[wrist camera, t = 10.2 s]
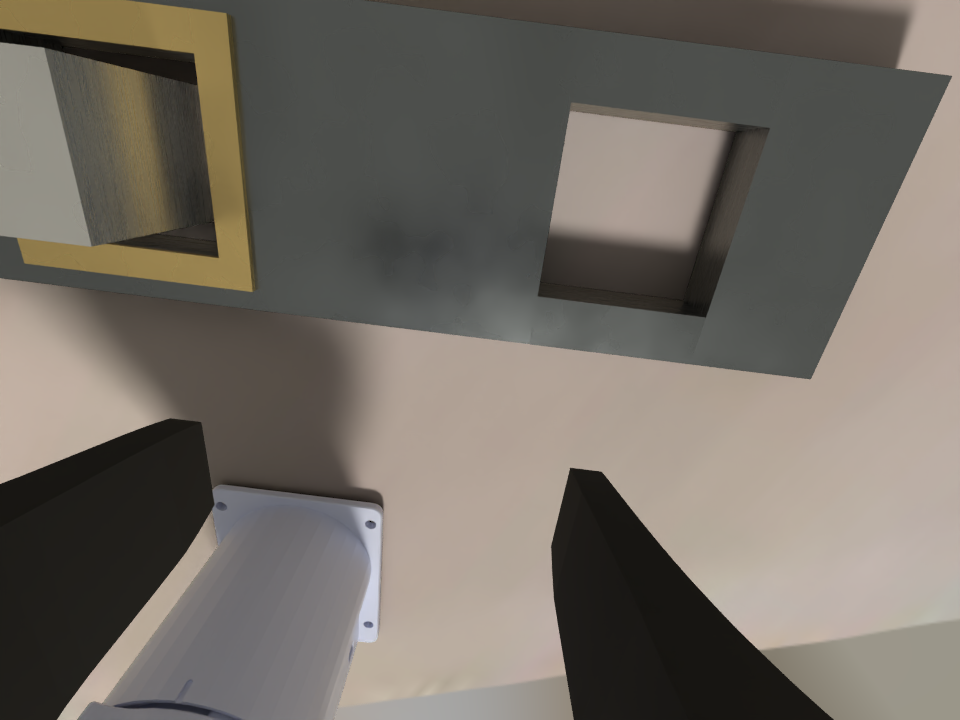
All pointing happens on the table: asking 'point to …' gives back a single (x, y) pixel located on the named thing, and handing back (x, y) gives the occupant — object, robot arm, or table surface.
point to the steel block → (97, 150)
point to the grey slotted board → (491, 173)
